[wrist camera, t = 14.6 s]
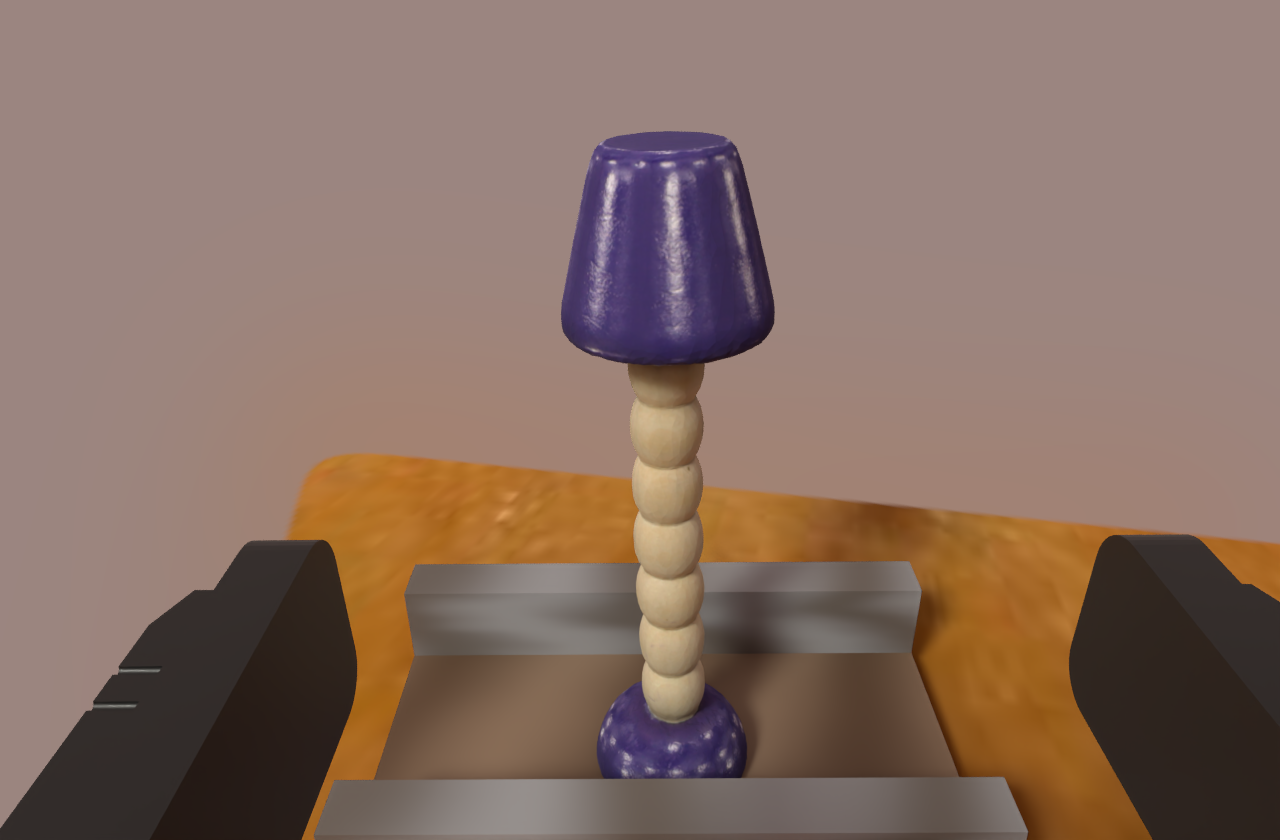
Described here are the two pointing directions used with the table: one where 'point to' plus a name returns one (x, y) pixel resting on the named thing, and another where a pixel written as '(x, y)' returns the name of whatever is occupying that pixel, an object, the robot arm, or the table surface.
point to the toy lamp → (668, 409)
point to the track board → (613, 661)
